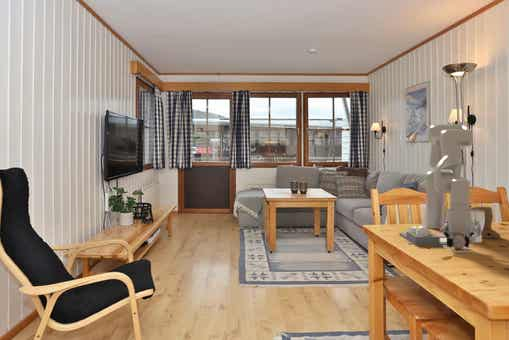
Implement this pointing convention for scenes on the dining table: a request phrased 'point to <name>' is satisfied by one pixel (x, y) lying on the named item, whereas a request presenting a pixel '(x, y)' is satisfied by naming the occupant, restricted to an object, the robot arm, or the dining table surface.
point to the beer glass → (477, 225)
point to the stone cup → (487, 223)
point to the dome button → (422, 231)
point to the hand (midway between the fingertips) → (457, 246)
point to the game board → (427, 239)
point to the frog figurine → (458, 241)
